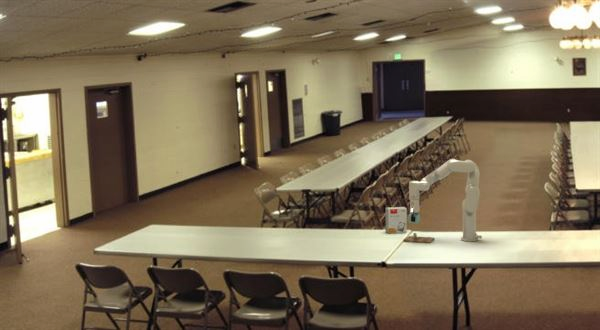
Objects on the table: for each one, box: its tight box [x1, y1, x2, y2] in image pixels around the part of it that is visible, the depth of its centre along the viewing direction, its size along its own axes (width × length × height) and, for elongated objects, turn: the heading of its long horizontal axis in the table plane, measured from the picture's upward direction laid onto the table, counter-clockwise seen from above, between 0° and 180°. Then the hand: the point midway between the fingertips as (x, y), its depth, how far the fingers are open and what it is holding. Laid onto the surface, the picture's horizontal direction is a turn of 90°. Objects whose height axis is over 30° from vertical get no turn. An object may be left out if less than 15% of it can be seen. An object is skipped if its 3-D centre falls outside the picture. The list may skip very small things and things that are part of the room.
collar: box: [408, 213, 421, 224], centre depth 536 cm, size 7×7×6 cm
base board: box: [403, 232, 435, 245], centre depth 537 cm, size 20×14×6 cm
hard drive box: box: [385, 206, 408, 235], centre depth 567 cm, size 16×8×20 cm, turn 97°
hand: (414, 220), depth 536 cm, fingers closed on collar, 7 cm apart
